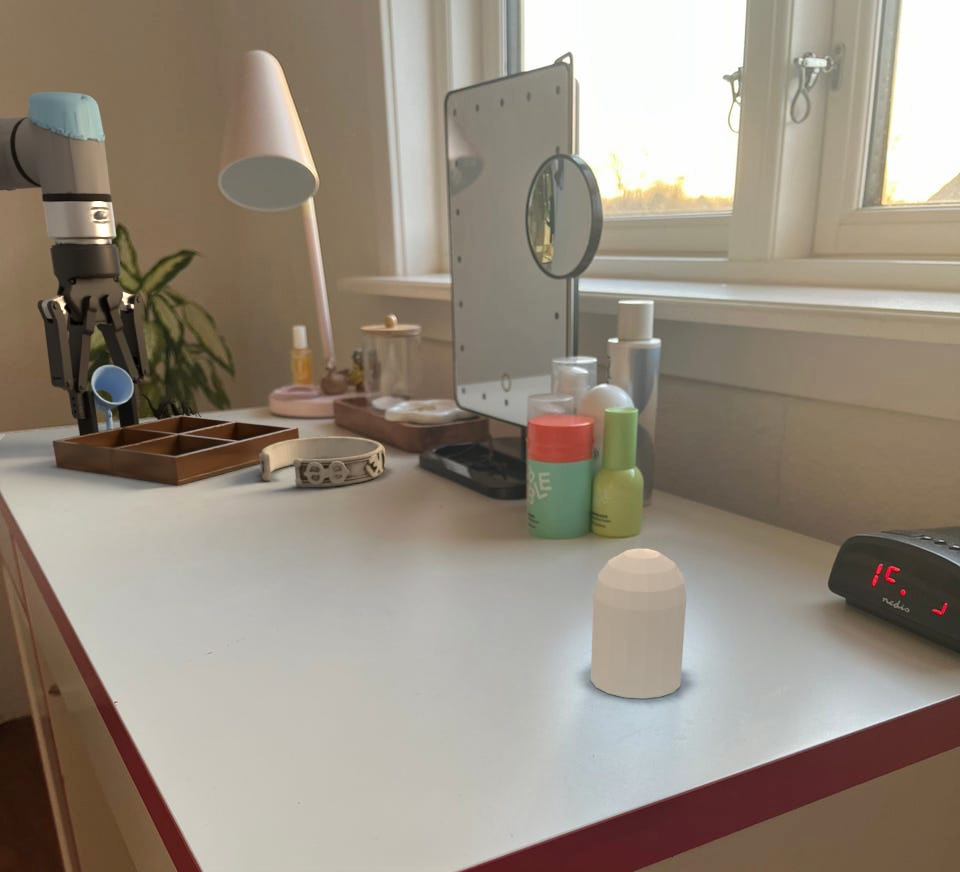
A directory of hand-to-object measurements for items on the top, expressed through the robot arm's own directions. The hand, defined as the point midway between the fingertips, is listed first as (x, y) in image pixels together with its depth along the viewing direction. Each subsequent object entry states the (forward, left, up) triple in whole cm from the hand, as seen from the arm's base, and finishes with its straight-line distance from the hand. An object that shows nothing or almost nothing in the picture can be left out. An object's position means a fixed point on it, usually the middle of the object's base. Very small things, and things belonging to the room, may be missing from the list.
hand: (111, 440), depth 128 cm
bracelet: (+33, +1, -1) cm, 33 cm away
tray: (+13, -1, -1) cm, 13 cm away
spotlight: (0, 0, -1) cm, 1 cm away
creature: (-4, +15, -1) cm, 16 cm away
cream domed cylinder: (+85, -34, -1) cm, 92 cm away
